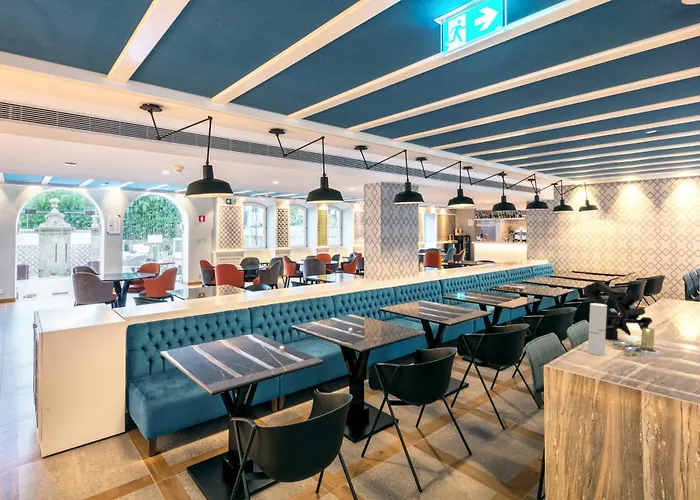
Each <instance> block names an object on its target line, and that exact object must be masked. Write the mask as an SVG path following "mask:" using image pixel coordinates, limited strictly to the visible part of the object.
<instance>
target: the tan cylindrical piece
mask: <svg viewBox="0 0 700 500" xmlns="http://www.w3.org/2000/svg"><path fill="white" fill-rule="evenodd" d="M640 343H641V344H640V347H641V348H642V350H643V351H647V352H654V350H653V349H655V348H654V346H655V345H654V344H655V329H654V328H652V327H648V328H645V327H643V328H642V330H641V342H640Z"/></svg>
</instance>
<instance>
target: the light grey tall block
mask: <svg viewBox="0 0 700 500" xmlns="http://www.w3.org/2000/svg"><path fill="white" fill-rule="evenodd" d="M607 306H608V305H607V304H606V305H604V304H597V303H590V304H589V319H588V320H589V325H588V339H587V340H588V343H587V344H588V345H587V353H589V354H590V355H596V356H604V355H605V349H606V339H605V334H606V314H607Z"/></svg>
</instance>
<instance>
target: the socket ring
mask: <svg viewBox="0 0 700 500" xmlns="http://www.w3.org/2000/svg"><path fill="white" fill-rule="evenodd" d="M653 350H654V352H647V351H643V350H642V351H641V352H639V355H641V356H646V357H653V358H655V357H656V358H657V357H659V356H660V351H659V350H657V349H655V348H653Z"/></svg>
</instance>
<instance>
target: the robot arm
mask: <svg viewBox="0 0 700 500" xmlns="http://www.w3.org/2000/svg"><path fill="white" fill-rule="evenodd" d="M582 290H583V293H584V295H585V296H586V297H588V298H590V299H591V300H592V301H593V302H594V303H597V304H604V305H607V303H606V302H605V300H604V299H603V297H602V296H601V293H604V294H606V296H608V299H609V300H610V301H612V302H615V305H614V309H618V311H619V313H618V312H617V311H612V310H611V309H610V307H609V306H608V305H607V314H606V334H605V340H613V341H618V340H619V339H618V337H619V331H618V330H621V331H623V332H624V333H625V334H627V335H628V336H631V335H632V334H631V331H630V329H629V327H628V326H627V324H638V326H639V329H640V330H641V331H642V328H643V327H645V328H649V325H650V324H651V323H653V319H652V318H651V317H649V316H648V317H646V316H643V315H644V314H646V310H645V309H644V307H639V308H632V307H631V306H633V305H634V304H635V303H637V301H638V300H639V299H640V296H639V295H638V294H637V293H636V292H634V291H632V289H629V290H628V289H627V291H623V290H619V289H614V288H613V287H611V286H609V285H608V284H606V283H605V282H603V281H594V282H592V283H590V284H587V285H586V286H584V287H583V289H582ZM640 316H643V317H641V318H640ZM639 318H640V319H639Z"/></svg>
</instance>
